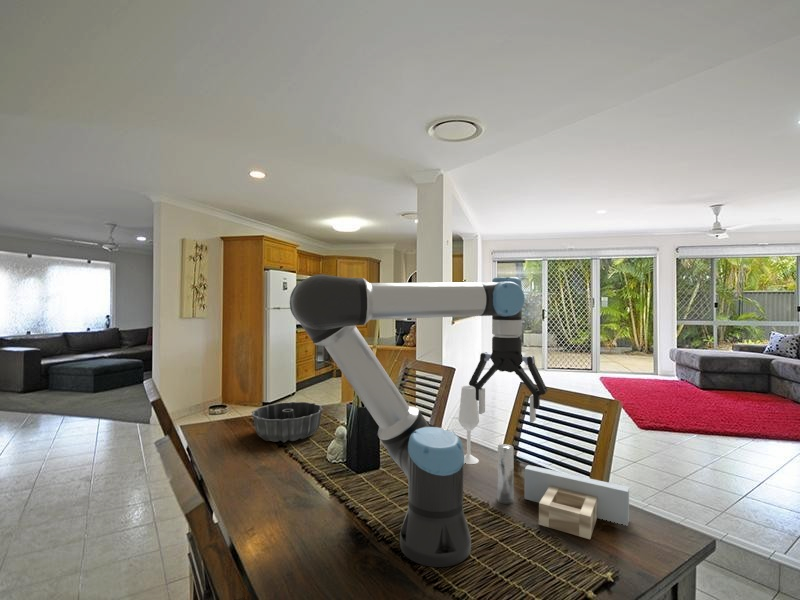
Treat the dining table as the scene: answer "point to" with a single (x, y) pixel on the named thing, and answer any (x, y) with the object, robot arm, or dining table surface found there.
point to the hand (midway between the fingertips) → (506, 416)
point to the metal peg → (505, 473)
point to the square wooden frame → (568, 511)
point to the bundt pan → (287, 421)
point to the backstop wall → (580, 491)
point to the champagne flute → (469, 417)
